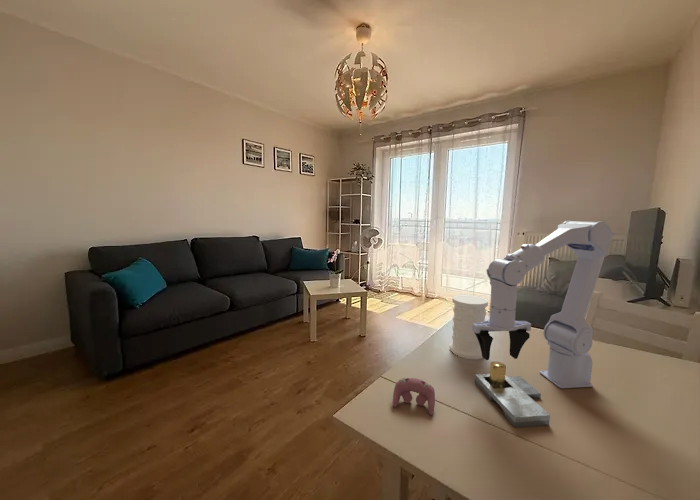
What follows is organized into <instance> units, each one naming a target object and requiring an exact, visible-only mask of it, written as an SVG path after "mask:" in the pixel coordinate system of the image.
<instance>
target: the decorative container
mask: <svg viewBox="0 0 700 500" xmlns="http://www.w3.org/2000/svg"><path fill="white" fill-rule="evenodd" d="M452 303H453V304H454V306H453V308H452V309H453V310H452V311H453V316H452V321H453V325H452V331H453V332H452V335H451V339H452V341H451V342H449V348H450V349H449V351H450V350H451V351H452V352H453V353H454V354H453V353H452V352H451V351H450V352H451V353H452V354H453V355H455V354H456V355H455V356H457V355H458V356H457V357H460V358H462V359H465V360H466V359H467V360H480V359H484V358H483V357H482V352H481V348H480V344H479V341H478V339H477V337H476V335H475V333H474V331H472V323H479V322H483V321H486V317H487V316H486V315H487V310H486V309H487V307H488V306H489V300H488V299H487V298H485V297H482V296H480V295H475V294H474V295H473V294H456V295H453V296H452Z"/></svg>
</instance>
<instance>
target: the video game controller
mask: <svg viewBox="0 0 700 500" xmlns="http://www.w3.org/2000/svg"><path fill="white" fill-rule="evenodd" d="M412 392H414V393H418V395H417V396H416V397H415V402H416V404H417V405H418V406H420V407H422V406H424V405H425V403H426V402H427V409H428V414H429V415H430V416H432V415H433V414H434V411H435V405H436V394H435V388H434V387H433V386H432V385H431V384H429V383H428V382H426V381H424V380H421V379H418V378H414V377H413V378H412V377H411V378H410V377H407V378H405V377H404V378H401V379H398V381H397V382H396V383H395V385H394V388H393V395H392V405H393V406H392V407H394V408H397V407H398V406H399V403H400V400H401V398H402V400H403V402H405V403H407V404H409V403H411V402H412V401H413V395H412Z"/></svg>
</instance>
